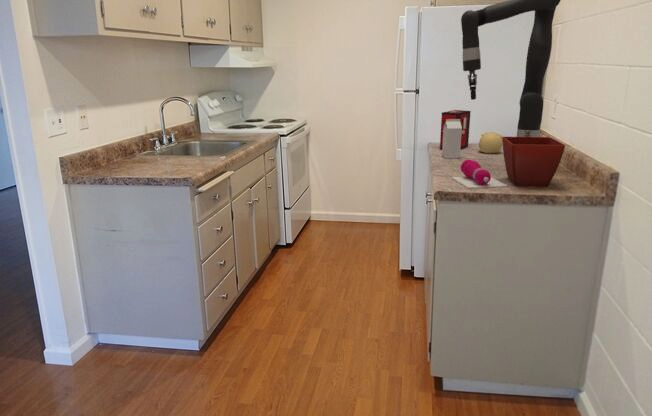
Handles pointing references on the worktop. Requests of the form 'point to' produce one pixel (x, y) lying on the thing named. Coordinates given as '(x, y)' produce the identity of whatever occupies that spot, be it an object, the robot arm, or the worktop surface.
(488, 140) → the tan ball
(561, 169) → the worktop surface
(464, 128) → the cleaning product box
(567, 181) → the worktop surface
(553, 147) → the plant pot
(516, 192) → the worktop surface
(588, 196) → the worktop surface
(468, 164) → the pepper mill
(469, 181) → the mat
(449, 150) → the milk carton
